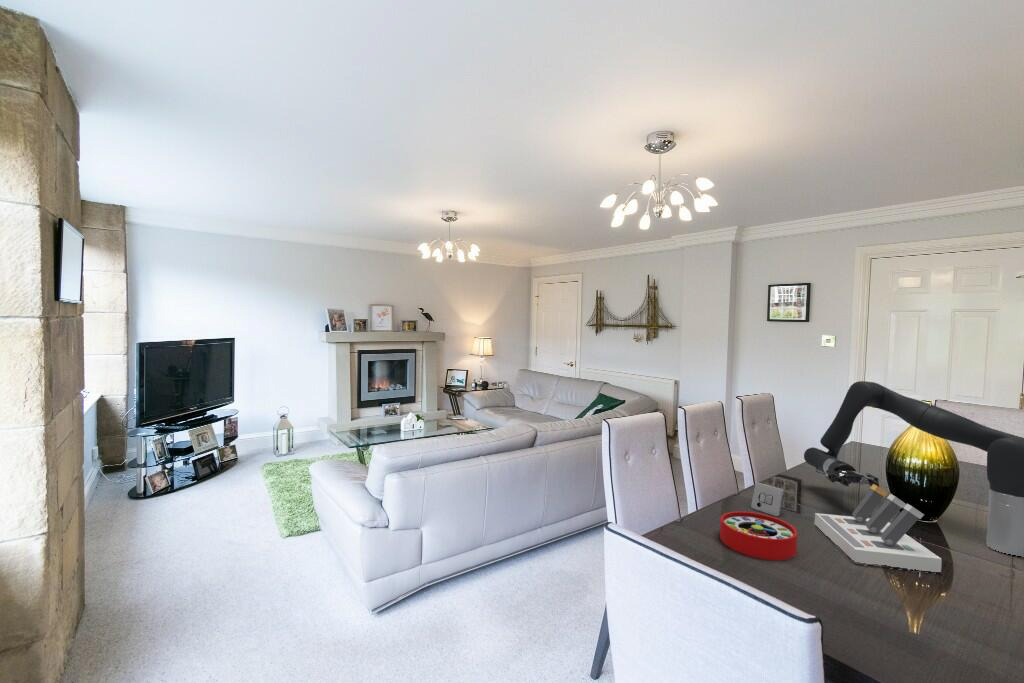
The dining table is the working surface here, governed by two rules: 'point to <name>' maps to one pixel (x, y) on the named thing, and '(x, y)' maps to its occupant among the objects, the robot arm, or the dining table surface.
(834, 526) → the panel
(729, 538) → the toy clock
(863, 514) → the lever
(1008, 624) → the dining table surface
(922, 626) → the dining table surface
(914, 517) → the lever
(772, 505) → the electrical switch
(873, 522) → the breaker mid
